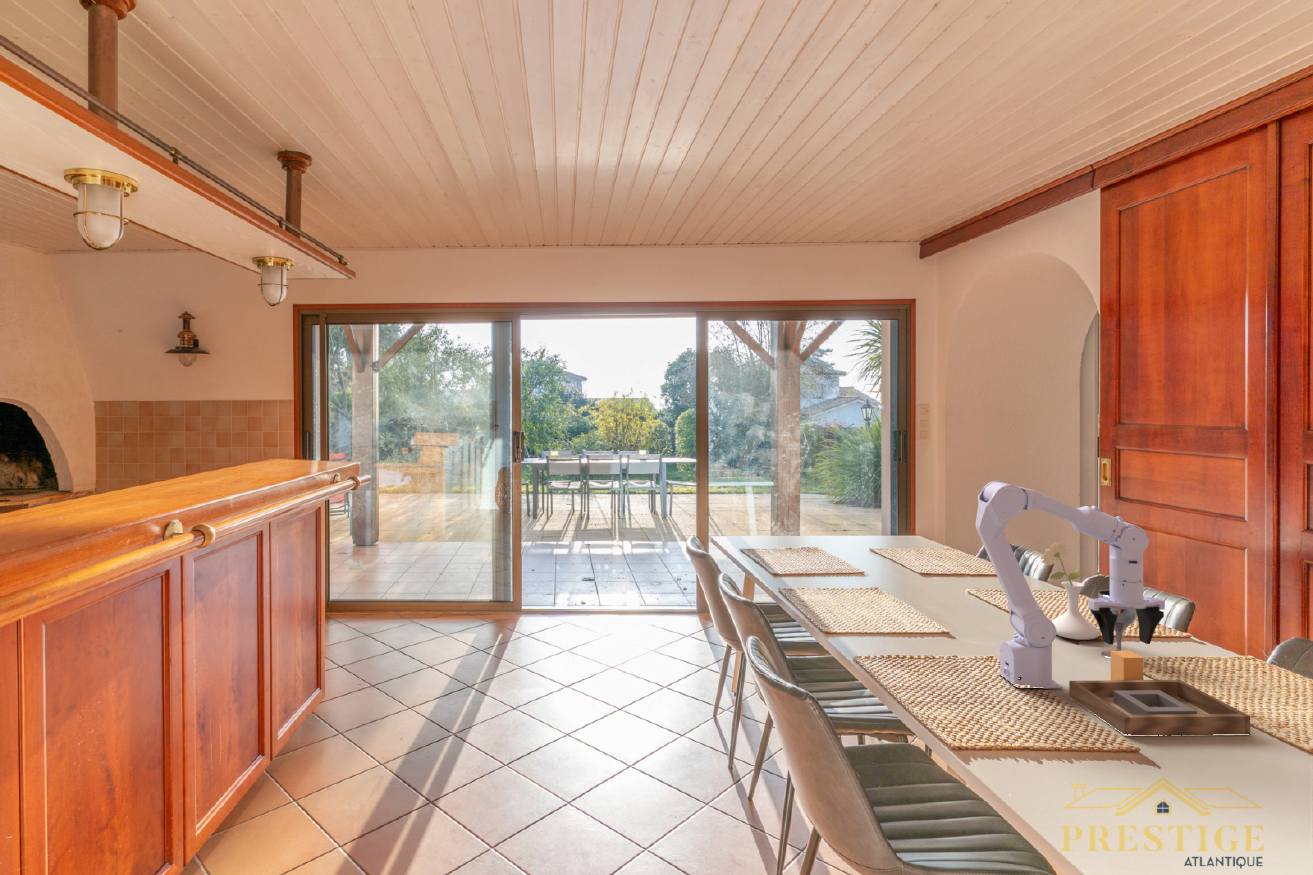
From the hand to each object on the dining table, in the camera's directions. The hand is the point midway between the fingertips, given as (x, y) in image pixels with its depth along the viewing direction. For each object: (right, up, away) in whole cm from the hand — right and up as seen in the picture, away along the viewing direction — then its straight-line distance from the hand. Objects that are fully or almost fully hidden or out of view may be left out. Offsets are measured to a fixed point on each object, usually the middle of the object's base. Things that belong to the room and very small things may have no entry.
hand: (1126, 642), depth 134 cm
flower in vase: (+8, -9, +31) cm, 33 cm away
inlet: (-4, -10, -13) cm, 17 cm away
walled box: (-4, -10, -13) cm, 17 cm away
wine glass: (+11, -9, +17) cm, 22 cm away
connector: (0, -10, 0) cm, 10 cm away
